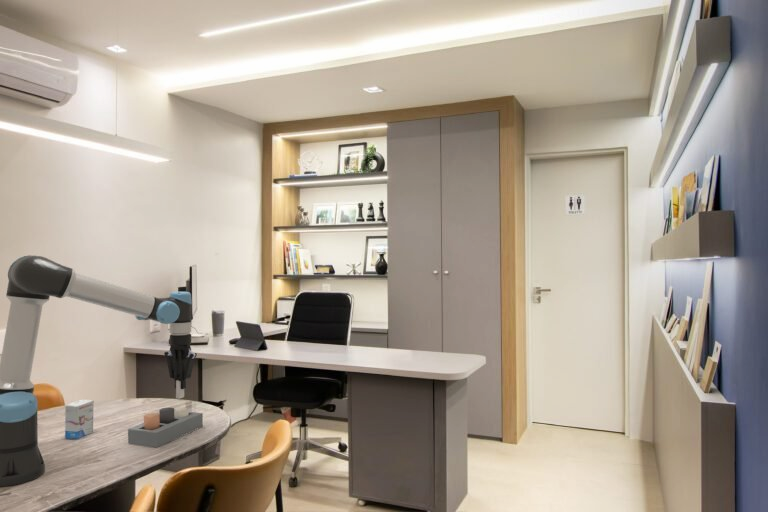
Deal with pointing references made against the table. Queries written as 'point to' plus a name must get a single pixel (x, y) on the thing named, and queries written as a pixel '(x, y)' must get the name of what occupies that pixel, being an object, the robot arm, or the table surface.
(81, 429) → the ink box
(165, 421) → the button black
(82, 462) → the table surface
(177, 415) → the button ivory
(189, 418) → the panel
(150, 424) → the button terracotta
